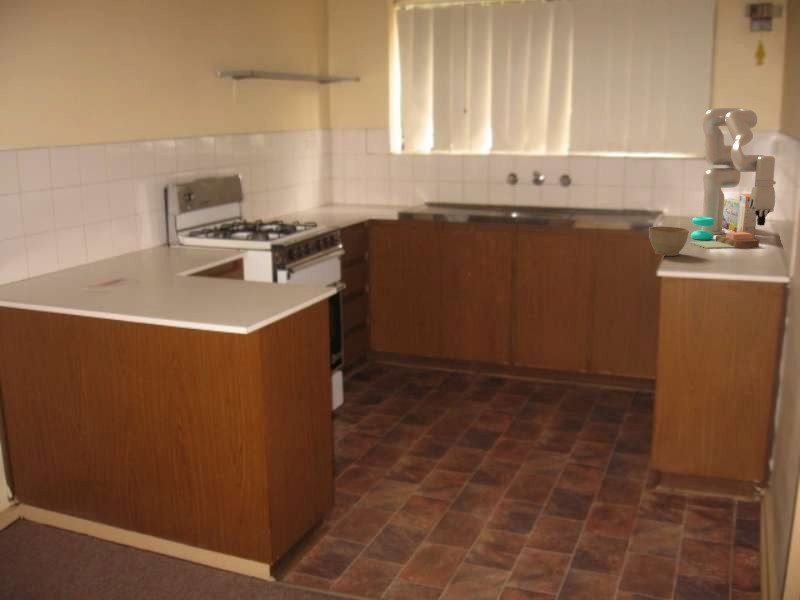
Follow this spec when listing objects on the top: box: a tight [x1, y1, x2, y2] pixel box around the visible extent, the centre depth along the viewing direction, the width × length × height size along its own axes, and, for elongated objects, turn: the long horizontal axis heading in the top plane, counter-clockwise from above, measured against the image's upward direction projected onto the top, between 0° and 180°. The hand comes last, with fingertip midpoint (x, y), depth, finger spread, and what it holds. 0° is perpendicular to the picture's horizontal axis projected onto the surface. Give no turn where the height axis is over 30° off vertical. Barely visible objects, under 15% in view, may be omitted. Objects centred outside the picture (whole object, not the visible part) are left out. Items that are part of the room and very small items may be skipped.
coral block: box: [725, 231, 752, 239], centre depth 378 cm, size 6×9×2 cm, turn 99°
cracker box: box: [737, 193, 757, 240], centre depth 392 cm, size 14×6×21 cm, turn 168°
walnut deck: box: [715, 235, 760, 249], centre depth 378 cm, size 17×11×3 cm, turn 9°
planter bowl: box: [648, 226, 690, 257], centre depth 353 cm, size 16×16×11 cm
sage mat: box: [689, 240, 736, 250], centre depth 377 cm, size 16×13×1 cm
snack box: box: [722, 198, 740, 232], centre depth 421 cm, size 21×6×15 cm, turn 5°
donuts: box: [690, 216, 715, 241], centre depth 395 cm, size 10×10×10 cm
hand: (760, 225), depth 377 cm, fingers closed
